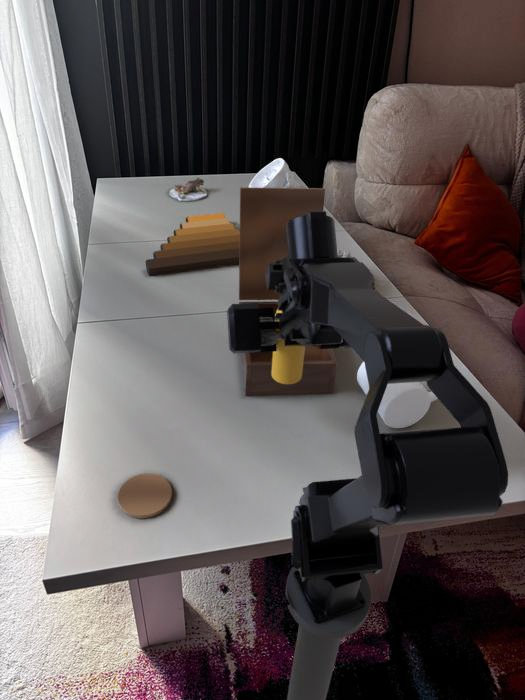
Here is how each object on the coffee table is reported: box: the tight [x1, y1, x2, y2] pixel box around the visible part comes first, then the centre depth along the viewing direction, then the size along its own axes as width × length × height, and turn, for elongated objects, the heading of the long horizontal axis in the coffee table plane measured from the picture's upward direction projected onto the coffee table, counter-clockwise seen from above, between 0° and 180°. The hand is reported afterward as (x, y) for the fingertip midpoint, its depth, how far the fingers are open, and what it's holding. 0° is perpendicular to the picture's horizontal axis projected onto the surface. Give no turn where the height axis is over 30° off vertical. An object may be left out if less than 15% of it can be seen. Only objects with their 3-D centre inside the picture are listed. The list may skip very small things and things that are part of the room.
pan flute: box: [145, 212, 240, 277], centre depth 134 cm, size 25×3×25 cm
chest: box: [238, 300, 338, 397], centre depth 97 cm, size 20×15×6 cm
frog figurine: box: [168, 177, 208, 202], centre depth 164 cm, size 12×12×4 cm
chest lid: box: [238, 186, 326, 301], centre depth 100 cm, size 20×15×4 cm
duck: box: [271, 309, 305, 384], centre depth 80 cm, size 6×5×12 cm
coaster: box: [117, 472, 173, 519], centre depth 73 cm, size 7×7×1 cm
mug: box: [356, 361, 439, 429], centre depth 88 cm, size 12×10×8 cm
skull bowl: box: [248, 157, 301, 188], centre depth 164 cm, size 10×14×12 cm
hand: (287, 337), depth 81 cm, fingers closed on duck, 4 cm apart
